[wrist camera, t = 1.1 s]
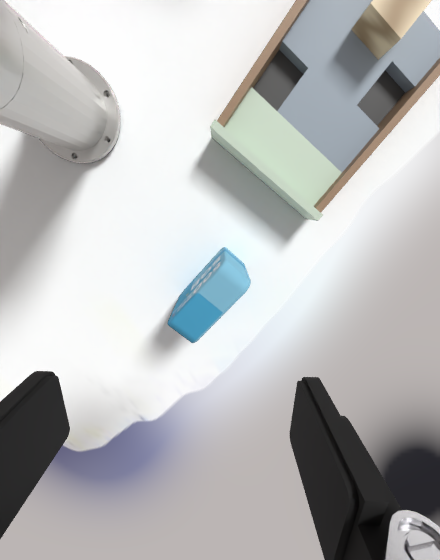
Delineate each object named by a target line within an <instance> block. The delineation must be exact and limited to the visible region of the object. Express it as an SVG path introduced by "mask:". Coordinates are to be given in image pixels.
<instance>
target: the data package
mask: <svg viewBox="0 0 440 560" xmlns="http://www.w3.org/2000/svg"><path fill="white" fill-rule="evenodd" d="M250 283H251V281H250V278H249V276H248V273H247V270H246V268H245V265H244V263H243V262H241V261H240V260H239V259H238V258H237V257H236V256H235V255H234V254H232V253H231V252H230V251H229V250H228V249H227V248H226V247H224V248H222V249H221V250H220V251H219V252H218V253H217V254H216V255H215V256H214V258H213V259H212V260H211V261H210V262H209V263H208V264H207V265H206V266H205V268H204V269H203V270H202V271H201V272H200V273H199V274H198V275H197V276H196V278H195V279H194V280H193V281H192V282H191V283H190V284H189V285H188V286H187V288H186V289H185V290H184V291H183V292H182V294H181V295H180V297H179V299H178V301H177V303H176V305H175V307H174V309H173V312H172V314H171V316H170V318H169V320H168V325H169V326H170V327H171V328H173V329H174V330H175V331H177V332H178V333H179V334H181V335H182V336H183V337H185V338H186V339H187V340H189V341H190V342H191V343H195V342H196V341H198V340H199V339H200V338H201V337H202V336H203V335H204V334H205V333H206V332H207V331H208V330H209V329H210V328H211V327H212V326H213V325H214V324H215V323H216V322H217V321H218V320H219V319H220V318H221V316H222V315H223V314H224V313H225V312H226V311H227V310H228V309H229V308H230V307H231V306H232V305H233V304H234V303H235V302H236V301H237V300H238V299H239V298H240V297H241V296H242V295H243V294H244V293H245V292H246V291H247V289H248V288H249V286H250Z"/></svg>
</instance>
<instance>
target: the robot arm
mask: <svg viewBox="0 0 440 560" xmlns="http://www.w3.org/2000/svg"><path fill="white" fill-rule="evenodd" d="M108 95H110V96H109V97H108ZM0 124H1V125H4V126H7V127H9V128H12V129H15V130H18V131H21V132H23V133H26V134H29V135H32V136H34V137H37V138H39V139H40V140H41V141H42V143H43V144H44V145H45V146H46V147H47V148H48V149H49V150H50V151H52V152H53V153H54V154H56V155H57V156H59V157H61V158H63V159H66V160H68V161H72V162H75V163H92V162H95V161H98V160H100V159H102V158H103V157H105V156H106V155H107V154H108V153H109V152H110V151H111V150H112V148H113V147H114V145H115V144H116V141H117V138H118V136H119V131H120V111H119V106H118V102H117V99H116V96H115V95H114V93H113V91H112V89H111V87H110V85H109V84H108V83H107V81H106V80H105V79H104V78H103V77H102V76H101V74H100V73H99V72H98V71H97V70H95V69H94V68H93V67H92V66H91V65H89V64H87V63H86V62H84V61H82V60H79V59H76V58H73V57H66V56H63V55H62V54H61V53H60V52H59V51H58V50H57V49H56V48H55V47H54V46H53V45H51V44H50V43H49V42H48V41H47V40H46V39H45V38H44V37H43V36H42V35H41V34H40V33H39V32H38V31H37V30H35V29H34V28H33V27H32V26H31V25H30V24H29V23H28V22H27V21H26V20H25V19H24V18H23V17H22V16H21V15H20V14H18V13H17V12H16V11H15V10H14V9H13V8H12V7H11V6H10V5H9V4H8V3H7V2H6V1H5V0H0ZM109 139H110V142H109ZM77 156H78V157H77ZM69 431H70V426H69V422H68V418H67V413H66V409H65V405H64V400H63V396H62V391H61V387H60V383H59V379H58V377H57V376H55V374H54V373H53V372H50V371H36V372H34V373H32V374H31V375H30V376H29V377H28V378H26V379H25V380H24V381H23V382H22V383H21V384H20V385H19V386H17V387H16V388H15V389H14V390H13V391H12V392H11V393H10V394H8V395H7V396H6V397H5V398H4V399H3V400H2V401H1V402H0V539H1V537H2V536H3V534H4V533H5V531H6V530H7V528H8V527H9V525H10V523H11V522H12V521H13V519H14V518H15V516H16V515H17V513H18V511H19V510H20V508H21V507H22V505H23V504H24V502H25V501H26V499H27V497H28V496H29V495H30V493H31V492H32V490H33V489H34V487H35V486H36V484H37V483H38V481H39V480H40V478H41V477H42V475H43V474H44V472H45V471H46V469H47V467H48V466H49V465H50V463H51V461H52V460H53V459H54V457H55V455H56V454H57V452H58V451H59V449H60V448H61V446H62V445H63V443H64V442H65V440H66V439H67V437H68V435H69ZM290 441H291V445H292V449H293V452H294V456H295V459H296V462H297V465H298V469H299V472H300V476H301V480H302V483H303V486H304V490H305V493H306V497H307V500H308V504H309V507H310V510H311V514H312V517H313V521H314V524H315V528H316V531H317V535H318V538H319V542H320V545H321V548H322V552H323V555H324V559H325V560H440V527H439V526H437V525H436V524H435V523H433V522H432V521H431V520H429V519H428V518H426V517H424V516H422V515H420V514H418V513H416V512H412V511H409V510H402V509H401V507H400V506H399V504H398V502H397V501H396V499H395V497H394V496H393V494H392V492H391V490H390V489H389V487H388V485H387V484H386V482H385V480H384V479H383V477H382V475H381V474H380V472H379V470H378V468H377V467H376V465H375V464H374V462H373V460H372V458H371V457H370V455H369V453H368V451H367V450H366V448H365V446H364V445H363V443H362V441H361V440H360V438H359V436H358V435H357V433H356V431H355V430H354V428H353V426H352V424H351V423H350V421H349V420H348V419H347V418H346V417H345V416H340V414H339V412H338V410H337V409H336V407H335V405H334V404H333V402H332V400H331V398H330V396H329V395H328V393H327V391H326V389H325V387H324V386H323V384H322V382H321V380H320V379H319V378H318V377H303V378H302V381H298V382H297V388H296V394H295V401H294V408H293V414H292V421H291V428H290Z"/></svg>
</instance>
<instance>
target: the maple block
mask: <svg viewBox="0 0 440 560" xmlns="http://www.w3.org/2000/svg"><path fill="white" fill-rule="evenodd" d="M431 1H432V0H372V2H371V3H370V5H369V6H368V7H367V9H366V10H365V11H364V13H363V14H362V15H361V17H360V18H359V20H358V21H357V22H356V24H355V25H354V26H353V28H352V29H351V30H352V31H353V32H354V33H355V34H356V35H357V37H358V38H359V39H360V40H361V41H362V42H363V43H364V44H365V46H366V47H367V48H368V49H369V50H370V51H371V52H372V53H373V55H374V56H375V57H376V58H377V59H378V60H379V59H380V58H381V57H382V56H383V55H384V54H385V53H386V52H387V51H389V50H390V49H391V48H392V47H393V46H394V45H395V44H396V43H397V42H398V41H399V40H400V39H401V38H402V37H403V36H404V35H405V33H406V32H407V31H408V30H409V28H410V27H411V26H412V25H413V23H414V22H415V21H416V20H417V18H418V17H419V16H420V14H421V13H422V12H423V11H424V9H425V8H426V7H427V6H428V4H429V3H430V2H431Z"/></svg>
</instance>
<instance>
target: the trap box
mask: <svg viewBox="0 0 440 560" xmlns="http://www.w3.org/2000/svg"><path fill="white" fill-rule="evenodd" d="M371 2H372V0H296V1H295V3H294V4H293V6H292V7H291V9H290V10H289V12H288V13H287V15H286V17H285V18H284V20H283V21H282V23H281V24H280V26H279V27H278V29H277V30H276V32H275V33H274V35H273V36H272V38H271V39H270V41H269V42H268V44H267V45H266V47H265V48H264V50H263V52H262V53H261V55H260V56H259V58H258V59H257V61H256V62H255V64H254V65H253V67H252V68H251V70H250V71H249V73H248V74H247V76H246V77H245V79H244V80H243V82H242V83H241V85H240V87H239V88H238V90H237V91H236V93H235V94H234V96H233V97H232V99H231V100H230V102H229V103H228V105H227V106H226V108H225V109H224V111H223V112H222V114H221V115H220V117H219V118H218V120H217V121H216V120H214V122H213V123H212V125H211V126H210V128H211V135H212V138H213V139H214V140H215V141H217V142H218V143H219V144H220V145H221V146H222V147H223V148H225V149H226V150H227V151H228V152H229V153H230V154H232V155H233V156H234V157H235V158H236V159H237V160H239V161H240V162H241V163H242V164H243V165H244V166H245V167H247V168H248V169H249V170H250V171H251V172H252V173H254V174H255V175H256V176H257V177H258V178H259V179H261V180H262V181H263V182H264V183H265V184H266V185H267V186H269V187H270V188H271V189H272V190H273V191H274V192H276V193H277V194H278V195H279V196H280V197H281V198H283V199H284V200H285V201H286V202H287V203H288V204H289V205H291V206H292V207H293V208H294V209H295V210H296V211H298V212H299V213H300V214H301V215H302V216H303V217H305V218H306V219H310V220H316V221H318V220H319V219H320V218H321V217H322V216H323V214H322V213H321V212H322V210H323V209H324V208H325V207H326V206H327V205H328V204H329V202H330V201H331V200H332V199H333V198H334V197H335V195H336V194H337V193H338V192H339V191H340V190H341V189H342V187H343V186H344V185H345V184H346V183H347V182H348V180H349V179H350V178H351V177H352V176H353V175H354V174H355V172H356V171H357V170H358V169H359V168H360V167H361V165H362V164H363V163H364V162H365V161H366V160H367V158H368V157H369V156H370V155H371V154H372V153H373V152H374V150H375V149H376V148H377V147H378V146H379V145H380V143H381V142H382V141H383V140H384V139H385V138H386V137H387V135H388V134H389V133H390V132H391V131H392V130H393V128H394V127H395V126H396V125H397V124H398V123H399V122H400V120H401V119H402V118H403V117H404V116H405V115H406V113H407V112H408V111H409V110H410V109H411V108H412V106H413V105H414V104H415V103H416V102H417V101H418V100H419V98H420V97H421V96H422V95H423V94H424V93H425V91H426V90H427V89H428V88H429V87H430V86H431V85H432V83H433V82H434V81H435V80H436V79H437V78H438V76H439V75H440V31H439V30H438V28H437V27H436V26H435V25H434V23H433V22H432V21H431V20H430V19H429V17H428V16H427V15H426V14H425V12H424V11H423V12H422V13H421V14H420V16H419V17H418V18H417V20H416V21H415V22H414V23H413V25H412V26H411V27H410V28H409V30H408V31H407V32H406V33H405V35H404V36H403V37H402V38H401V39H400V40H399V41H398V42H397V43H396V44H395V45H394V46H393V47H392V48H391V49H390V50H389V51H387V52H386V53H385V54H384V55H383V56H382V57H381V58H380V59H379V60H378V59H377V58H376V57H375V56H374V55H373V53H372V52H371V51H370V50H369V49H368V48H367V47H366V46H365V44H364V43H363V42H362V41H361V40H360V39H359V38H358V37H357V35H356V34H355V33H354V32H353V31H352V30H351V29H352V28H353V26H354V25H355V24H356V22H357V21H358V20H359V18H360V17H361V15H362V14H363V13H364V11H365V10H366V9H367V7H368V6H369V5H370V3H371Z"/></svg>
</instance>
